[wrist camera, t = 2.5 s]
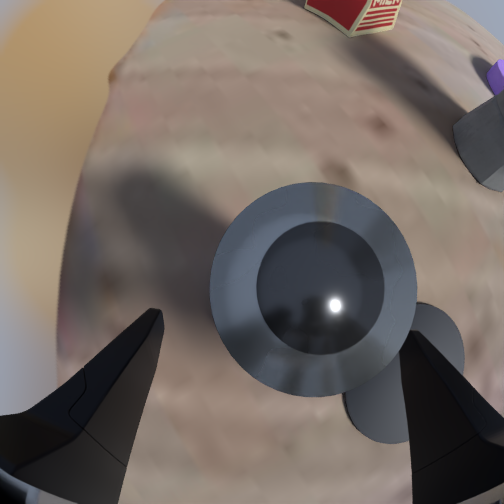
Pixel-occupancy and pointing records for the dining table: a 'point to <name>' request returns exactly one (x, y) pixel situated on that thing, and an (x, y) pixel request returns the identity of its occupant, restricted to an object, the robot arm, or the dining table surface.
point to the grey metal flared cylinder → (313, 289)
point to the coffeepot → (483, 142)
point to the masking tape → (496, 77)
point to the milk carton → (357, 14)
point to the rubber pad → (389, 381)
